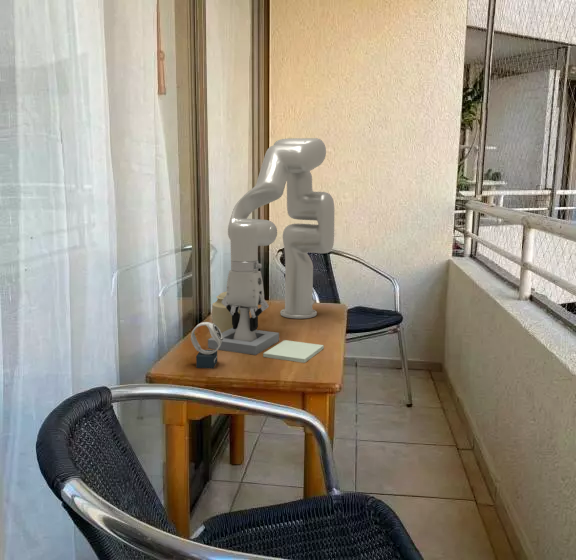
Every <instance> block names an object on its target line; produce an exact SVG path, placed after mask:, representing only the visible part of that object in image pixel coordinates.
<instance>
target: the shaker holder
mask: <svg viewBox="0 0 576 560" xmlns="http://www.w3.org/2000/svg"><path fill="white" fill-rule="evenodd" d="M235 332H236V329H233V328H231V329H229V330H227V331H225V332H223V333H222V336H223V341H222V343H221V345H220V347H219V349H218V350H217V351H219V350H220V351H226V352H233V353H239V354H240V353H241V354H247V355H253V356H257V355H258V354H260V353H262V352H263V351H265V350H267V349H268V348H271V346H272V347H273V345H275V344H277V343H278V342H280V332H276V331H275V332H274V331H267V330H261V329H260V330H259V329H256V330H254V332H255V334H256V337H257V339H256V340H254V341H252V342H248V341H240V340H233V338H234V335H235ZM218 346H219V345H218V344H217V342H216V341H215V340H214V339H213V338H212V337H210V338H208V339H207V348H208V349H210V350H215V349H216V348H217V347H218Z"/></svg>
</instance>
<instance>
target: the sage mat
mask: <svg viewBox="0 0 576 560" xmlns="http://www.w3.org/2000/svg"><path fill="white" fill-rule="evenodd" d="M324 348H325V347H324V344H317V343H310V342H303V341H295V340H294V341H293V340H287V339H283V340H282V341H281V342H279V343H278V344H276V345H274V346H272V347H270V349H268V350H266V351H264V352H263V353H262V355H263V358H268V359H269V358H270V359H276V360H281V361H282V360H283V361H291V362H295V363H296V362H297V363H301V364H305V363H306V362H308V361H309V360H311V359H312V358H313V357H314V356H316V355H318V354H319V353H320V352H321V351H322V350H324Z"/></svg>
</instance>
